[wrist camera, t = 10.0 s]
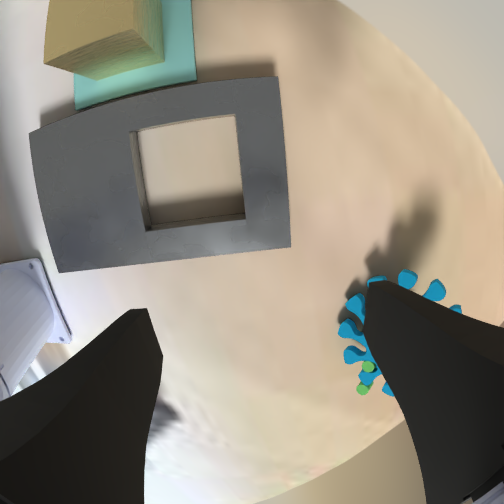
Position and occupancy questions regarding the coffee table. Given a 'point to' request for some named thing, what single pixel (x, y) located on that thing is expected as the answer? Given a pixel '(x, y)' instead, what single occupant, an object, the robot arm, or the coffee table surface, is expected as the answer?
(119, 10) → the brass block
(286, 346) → the coffee table surface
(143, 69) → the teal mat
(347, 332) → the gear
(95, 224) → the rail plate
